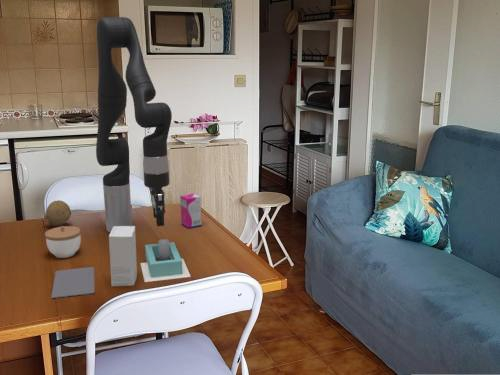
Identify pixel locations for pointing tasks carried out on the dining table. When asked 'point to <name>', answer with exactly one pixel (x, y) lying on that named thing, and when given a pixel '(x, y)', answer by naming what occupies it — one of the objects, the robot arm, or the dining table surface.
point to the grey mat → (73, 282)
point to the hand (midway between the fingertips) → (158, 221)
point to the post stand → (162, 257)
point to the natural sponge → (57, 213)
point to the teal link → (163, 266)
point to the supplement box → (191, 210)
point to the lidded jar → (63, 241)
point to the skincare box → (123, 255)
